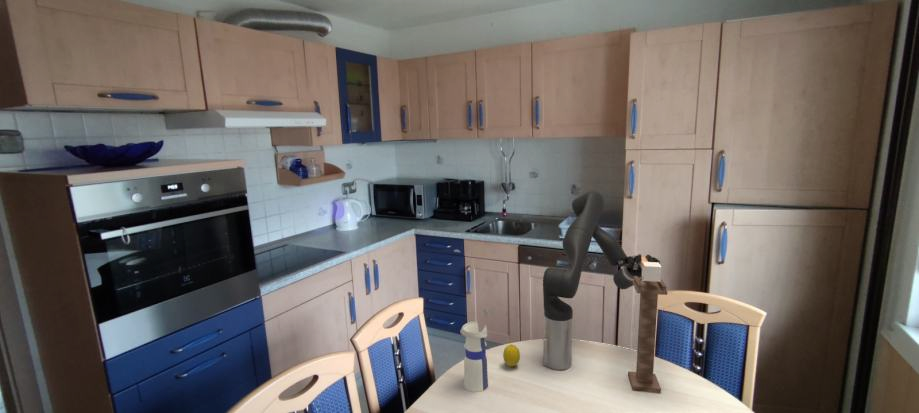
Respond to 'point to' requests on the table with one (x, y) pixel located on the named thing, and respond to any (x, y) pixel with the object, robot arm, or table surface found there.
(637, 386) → the tall stand
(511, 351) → the lemon
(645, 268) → the plug rod
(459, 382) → the table surface
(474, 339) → the white and blue pitcher
